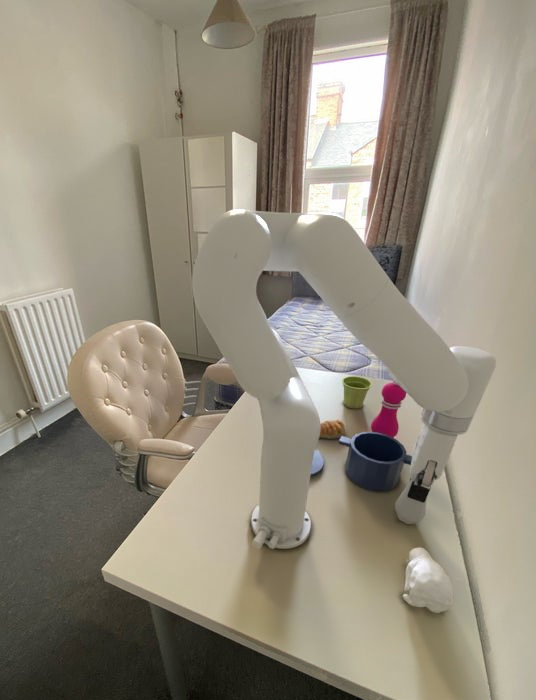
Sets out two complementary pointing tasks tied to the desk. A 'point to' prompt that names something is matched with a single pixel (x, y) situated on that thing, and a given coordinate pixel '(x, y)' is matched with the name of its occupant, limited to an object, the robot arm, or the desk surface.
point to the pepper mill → (389, 410)
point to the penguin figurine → (427, 583)
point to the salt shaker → (410, 505)
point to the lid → (317, 462)
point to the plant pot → (355, 391)
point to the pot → (374, 460)
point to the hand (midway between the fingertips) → (416, 490)
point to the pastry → (332, 429)
